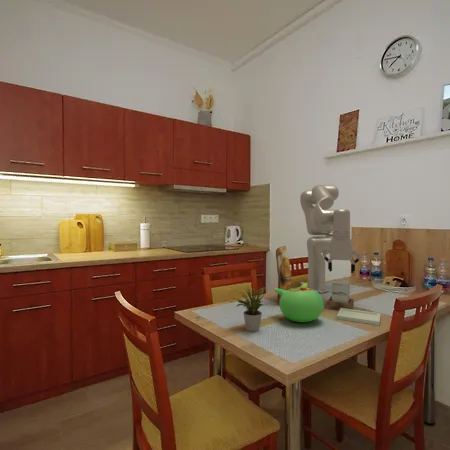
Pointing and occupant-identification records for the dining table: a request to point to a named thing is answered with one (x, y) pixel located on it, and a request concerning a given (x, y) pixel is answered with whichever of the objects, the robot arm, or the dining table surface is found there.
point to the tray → (359, 316)
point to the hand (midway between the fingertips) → (341, 271)
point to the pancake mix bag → (283, 270)
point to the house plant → (252, 309)
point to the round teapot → (300, 303)
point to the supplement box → (340, 291)
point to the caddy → (339, 304)
